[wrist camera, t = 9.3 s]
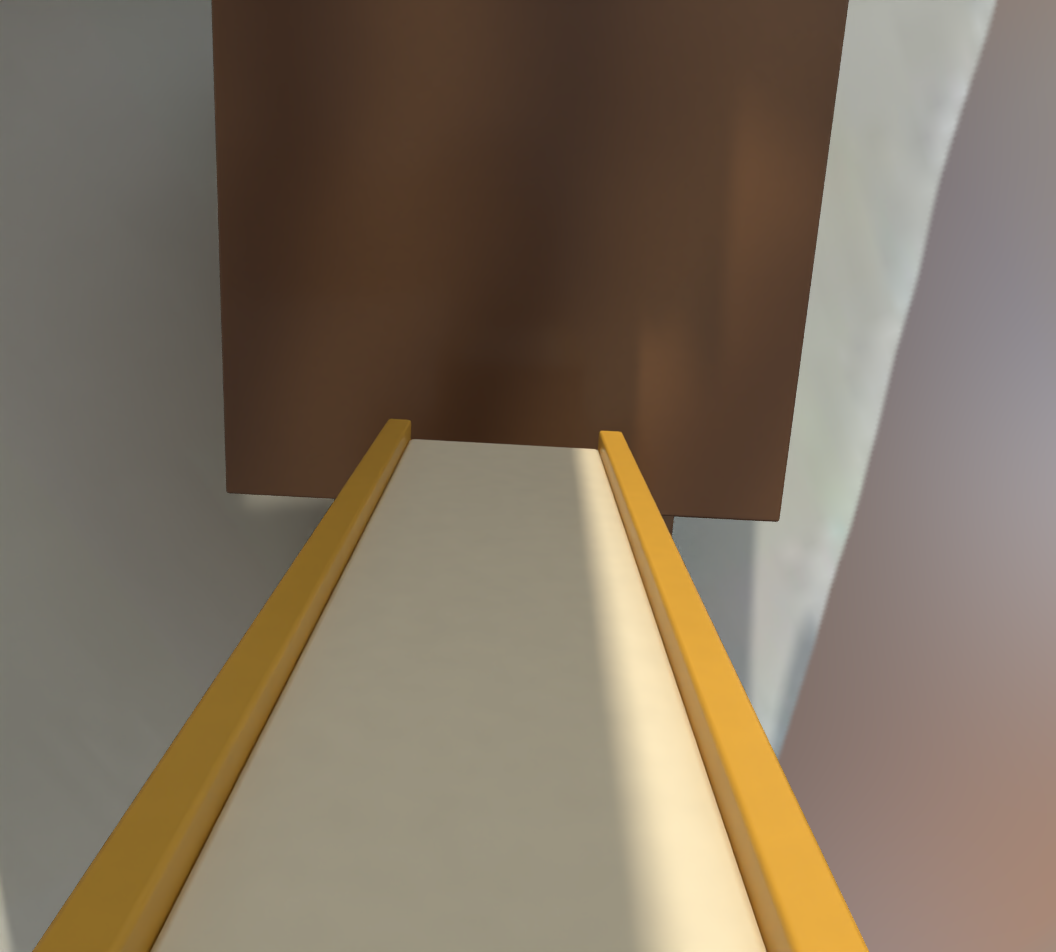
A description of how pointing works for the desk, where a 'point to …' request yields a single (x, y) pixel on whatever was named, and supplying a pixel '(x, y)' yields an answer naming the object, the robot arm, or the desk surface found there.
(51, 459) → the desk surface
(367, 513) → the ochre book
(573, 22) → the step shelf
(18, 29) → the desk surface
